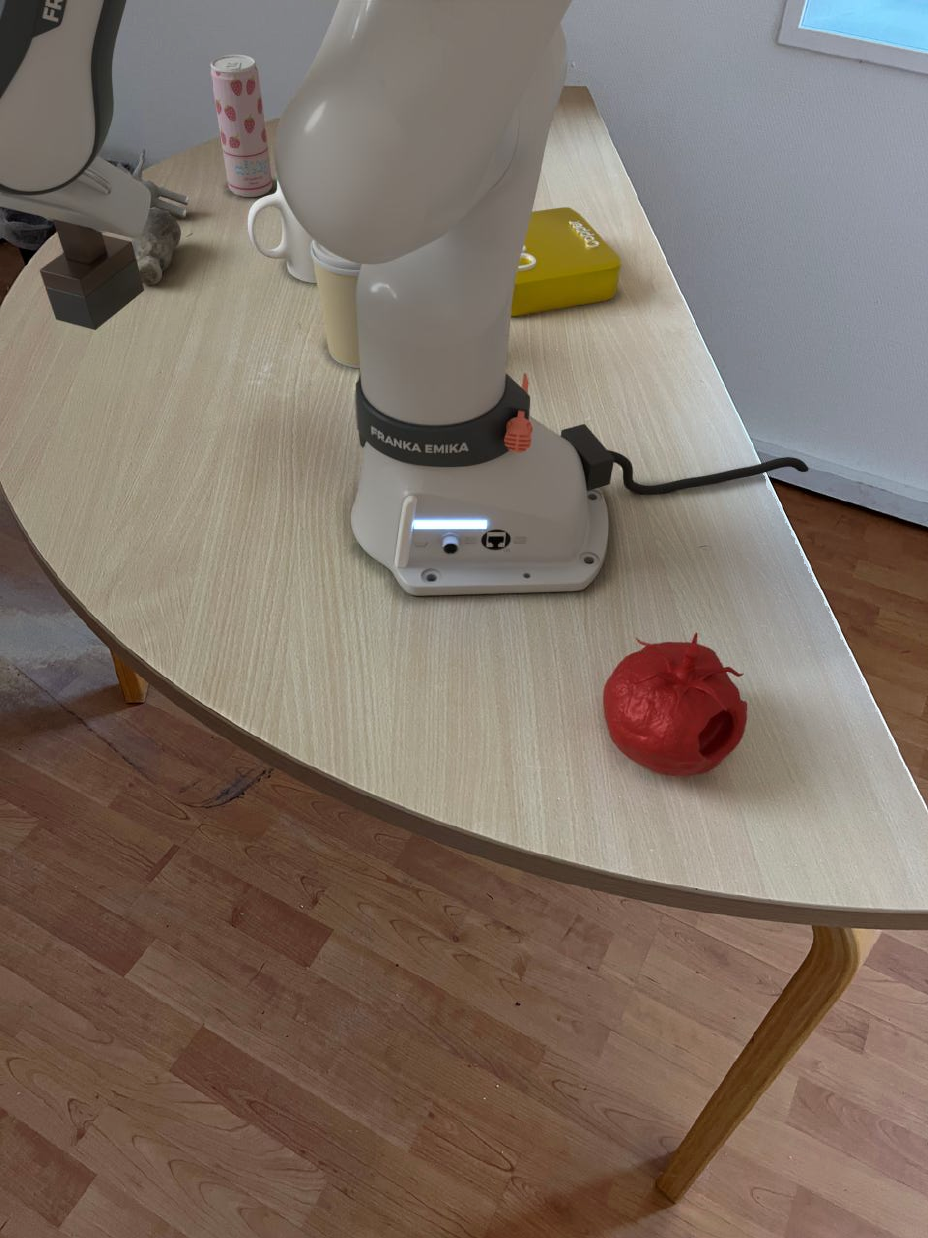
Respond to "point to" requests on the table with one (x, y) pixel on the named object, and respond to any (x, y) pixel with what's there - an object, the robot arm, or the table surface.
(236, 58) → the beverage can
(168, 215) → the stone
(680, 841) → the table surface
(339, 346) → the coffee cup
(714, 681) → the red tomato
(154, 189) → the elephant figurine
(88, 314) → the brush
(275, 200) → the mug
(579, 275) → the element tile
